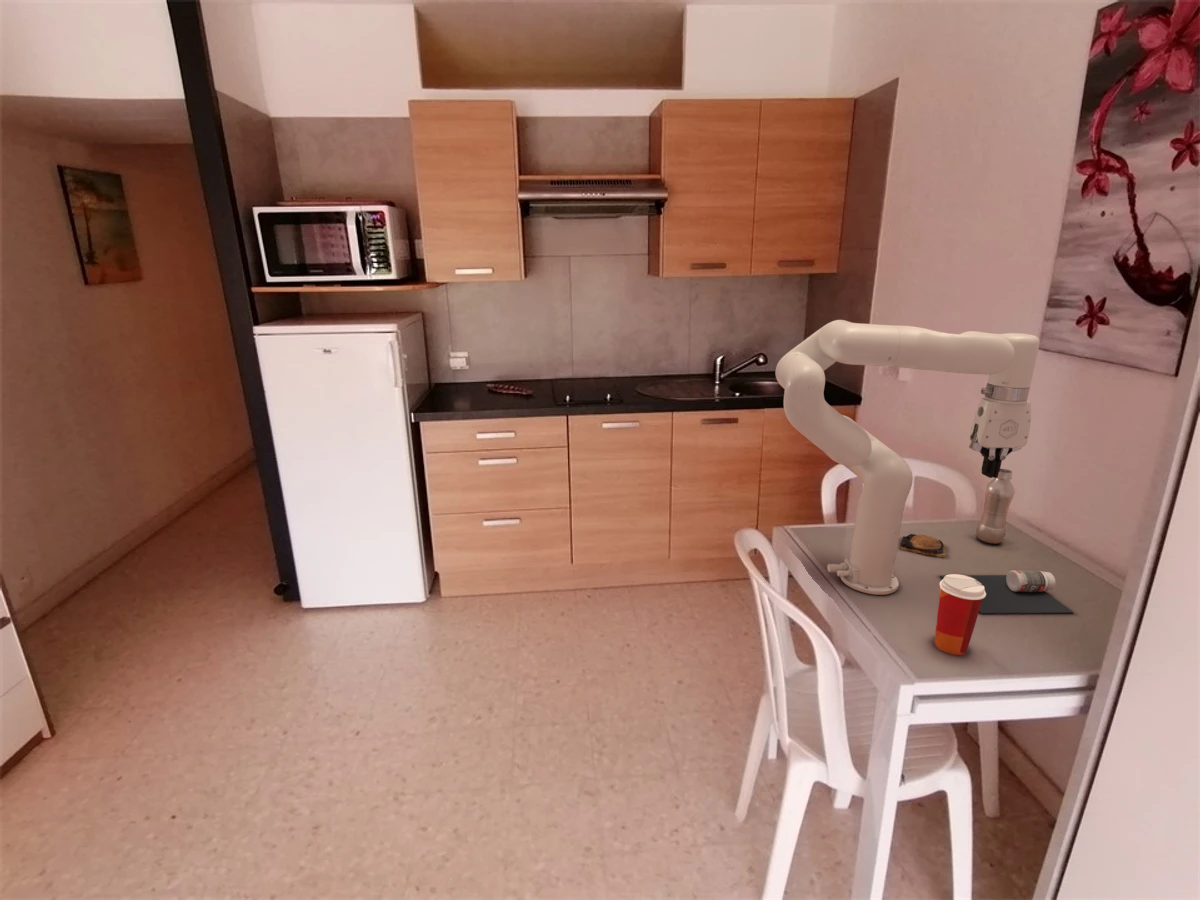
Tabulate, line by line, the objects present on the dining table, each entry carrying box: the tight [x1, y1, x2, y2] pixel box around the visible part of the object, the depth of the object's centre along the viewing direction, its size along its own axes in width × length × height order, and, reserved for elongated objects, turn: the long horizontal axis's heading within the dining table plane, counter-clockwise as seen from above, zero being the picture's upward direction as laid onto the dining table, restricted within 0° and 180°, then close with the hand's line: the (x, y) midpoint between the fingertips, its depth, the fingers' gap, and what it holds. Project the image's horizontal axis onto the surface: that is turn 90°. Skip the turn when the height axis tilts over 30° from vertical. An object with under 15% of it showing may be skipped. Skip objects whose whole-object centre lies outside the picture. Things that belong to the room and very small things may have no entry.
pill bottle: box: [1006, 569, 1056, 592], centre depth 139 cm, size 5×5×8 cm
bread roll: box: [900, 533, 947, 559], centre depth 159 cm, size 11×8×4 cm
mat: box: [939, 574, 1074, 615], centre depth 138 cm, size 20×16×1 cm
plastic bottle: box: [975, 468, 1016, 544], centre depth 161 cm, size 6×7×20 cm
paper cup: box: [934, 573, 986, 656], centre depth 117 cm, size 8×8×14 cm
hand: (989, 475), depth 134 cm, fingers closed
